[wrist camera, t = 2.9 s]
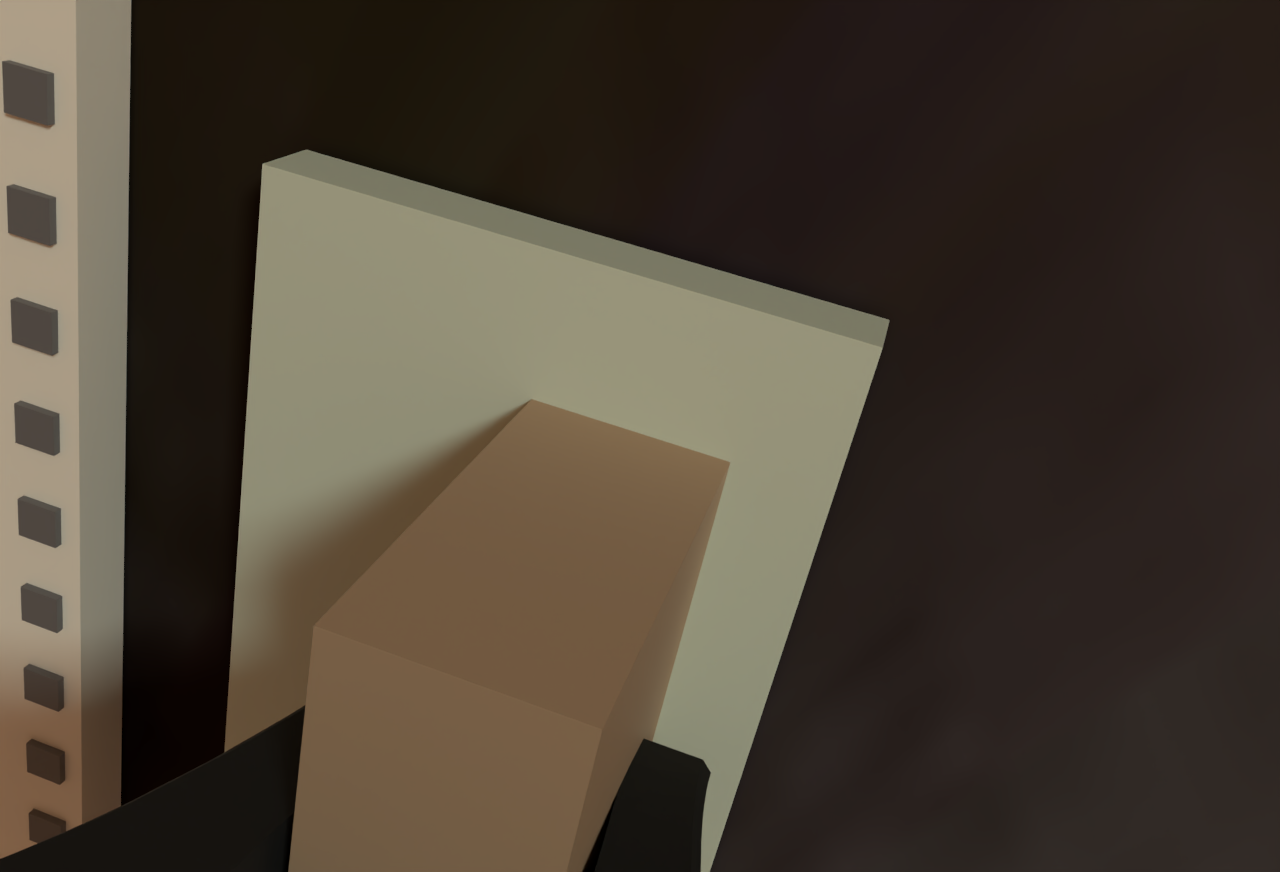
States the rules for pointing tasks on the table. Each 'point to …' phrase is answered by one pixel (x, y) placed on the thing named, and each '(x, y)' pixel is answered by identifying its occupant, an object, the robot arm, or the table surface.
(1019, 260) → the table surface
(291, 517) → the stub
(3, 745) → the board
